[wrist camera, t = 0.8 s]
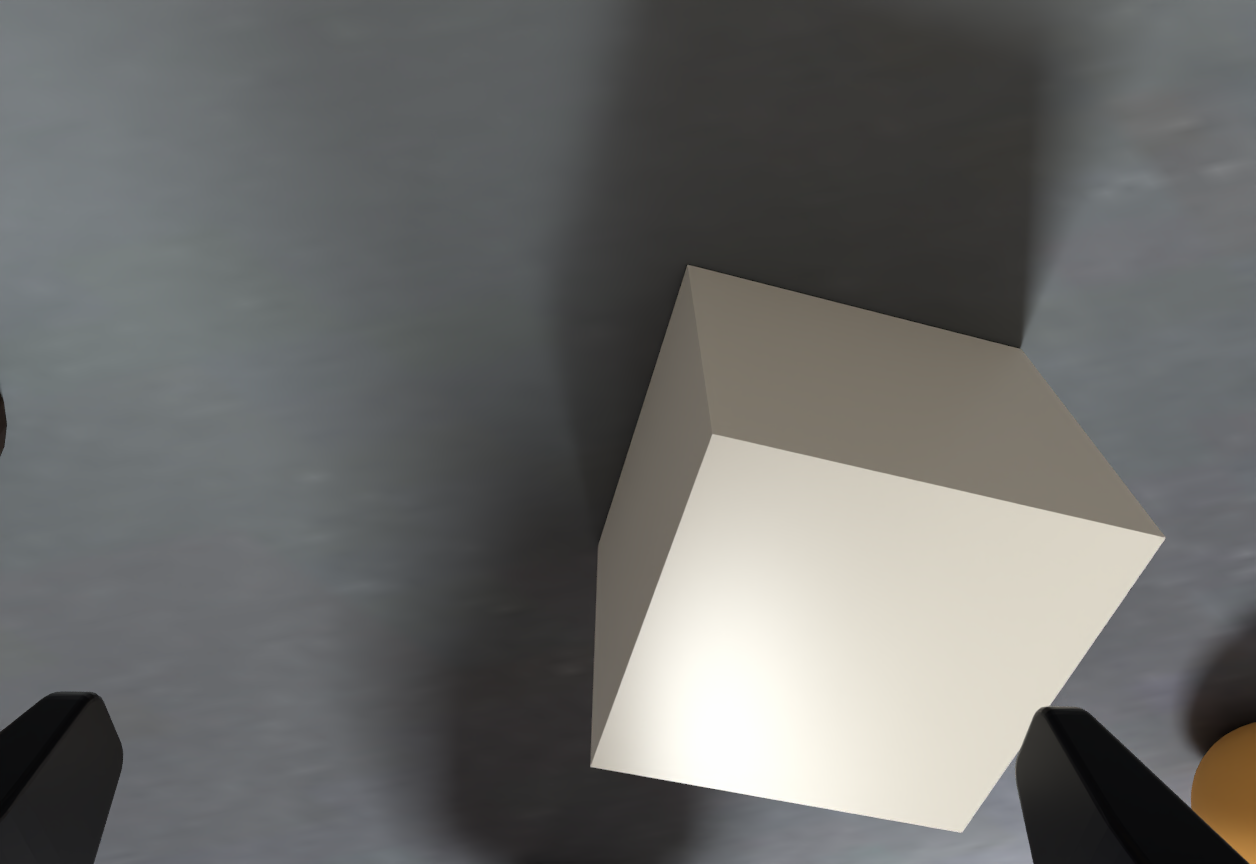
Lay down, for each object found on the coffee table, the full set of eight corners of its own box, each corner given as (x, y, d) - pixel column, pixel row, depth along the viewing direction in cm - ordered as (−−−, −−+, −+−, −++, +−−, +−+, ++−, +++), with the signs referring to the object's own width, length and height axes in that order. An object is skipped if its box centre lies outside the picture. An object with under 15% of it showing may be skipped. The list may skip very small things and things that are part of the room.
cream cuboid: (885, 605, 26) (961, 833, 20) (597, 545, 25) (590, 766, 19) (1021, 349, 22) (1165, 537, 16) (687, 264, 21) (712, 433, 15)
